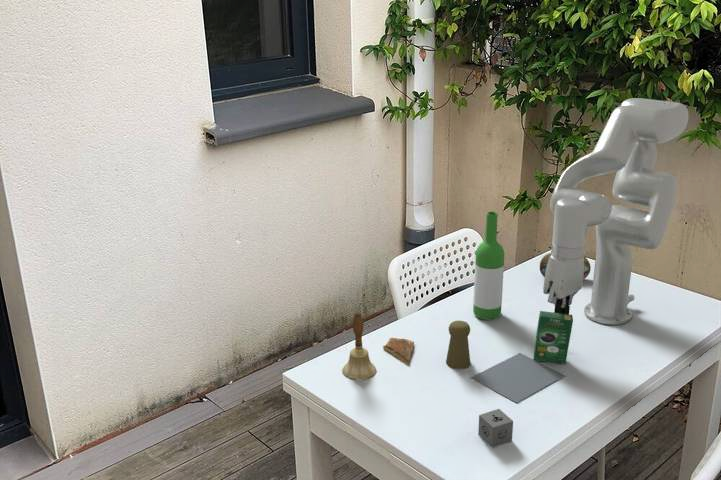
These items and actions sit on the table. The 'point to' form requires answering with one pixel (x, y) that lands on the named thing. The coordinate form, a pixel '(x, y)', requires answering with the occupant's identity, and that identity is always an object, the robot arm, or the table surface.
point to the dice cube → (495, 428)
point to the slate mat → (518, 377)
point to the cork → (458, 345)
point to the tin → (545, 261)
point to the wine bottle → (489, 273)
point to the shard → (400, 348)
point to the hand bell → (358, 355)
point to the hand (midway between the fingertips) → (561, 319)
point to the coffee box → (553, 337)
